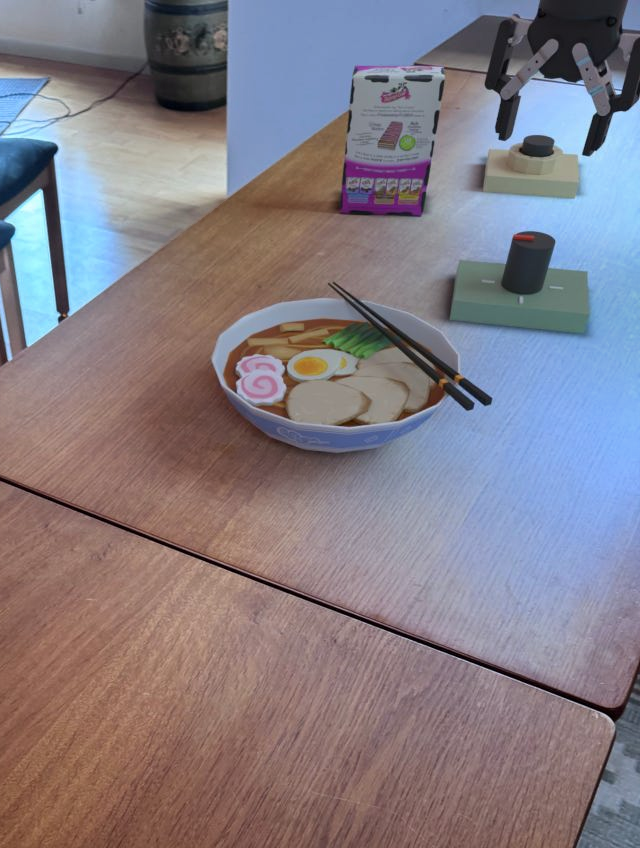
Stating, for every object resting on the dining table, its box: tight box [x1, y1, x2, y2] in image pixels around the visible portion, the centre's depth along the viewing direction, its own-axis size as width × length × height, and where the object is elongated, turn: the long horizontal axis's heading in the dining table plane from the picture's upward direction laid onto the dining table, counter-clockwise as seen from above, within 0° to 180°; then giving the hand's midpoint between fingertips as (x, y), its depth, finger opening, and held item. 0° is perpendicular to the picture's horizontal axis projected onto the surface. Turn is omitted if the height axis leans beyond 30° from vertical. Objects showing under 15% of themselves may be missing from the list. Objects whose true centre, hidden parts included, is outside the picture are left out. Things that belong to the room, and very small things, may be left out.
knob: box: [501, 230, 557, 294], centre depth 98 cm, size 4×4×5 cm
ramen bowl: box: [211, 281, 494, 454], centre depth 86 cm, size 25×23×8 cm
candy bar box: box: [338, 65, 446, 217], centre depth 116 cm, size 11×5×16 cm, turn 80°
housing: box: [482, 142, 580, 200], centre depth 125 cm, size 12×10×4 cm
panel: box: [449, 259, 591, 335], centre depth 101 cm, size 14×10×3 cm
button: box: [520, 134, 555, 157], centre depth 123 cm, size 4×4×2 cm
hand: (545, 146), depth 92 cm, fingers open, 8 cm apart
